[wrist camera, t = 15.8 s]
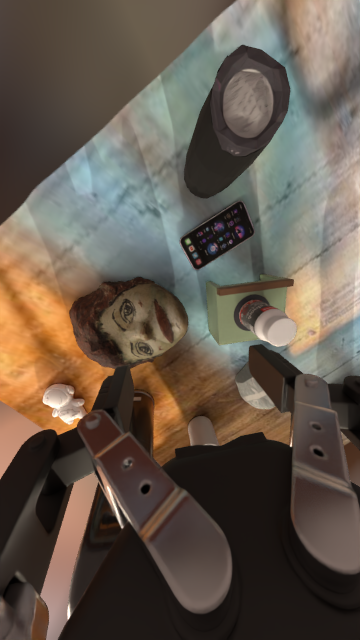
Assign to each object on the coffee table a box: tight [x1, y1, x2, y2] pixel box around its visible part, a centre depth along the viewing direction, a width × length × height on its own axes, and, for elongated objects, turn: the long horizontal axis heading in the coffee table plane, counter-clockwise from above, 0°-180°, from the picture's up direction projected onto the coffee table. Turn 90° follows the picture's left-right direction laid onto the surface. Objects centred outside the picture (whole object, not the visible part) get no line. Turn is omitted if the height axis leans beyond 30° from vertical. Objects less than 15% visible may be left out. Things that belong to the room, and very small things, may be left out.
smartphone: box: [180, 201, 255, 270], centre depth 40 cm, size 8×1×15 cm
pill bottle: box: [239, 300, 297, 346], centre depth 34 cm, size 6×6×10 cm
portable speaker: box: [184, 45, 290, 198], centre depth 28 cm, size 9×9×20 cm
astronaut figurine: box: [43, 384, 87, 424], centre depth 48 cm, size 9×12×3 cm
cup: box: [188, 416, 219, 446], centre depth 54 cm, size 7×10×9 cm
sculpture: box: [69, 277, 188, 369], centre depth 40 cm, size 21×10×25 cm
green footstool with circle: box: [206, 274, 294, 345], centre depth 41 cm, size 12×14×10 cm
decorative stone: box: [235, 362, 275, 409], centre depth 52 cm, size 13×10×6 cm
